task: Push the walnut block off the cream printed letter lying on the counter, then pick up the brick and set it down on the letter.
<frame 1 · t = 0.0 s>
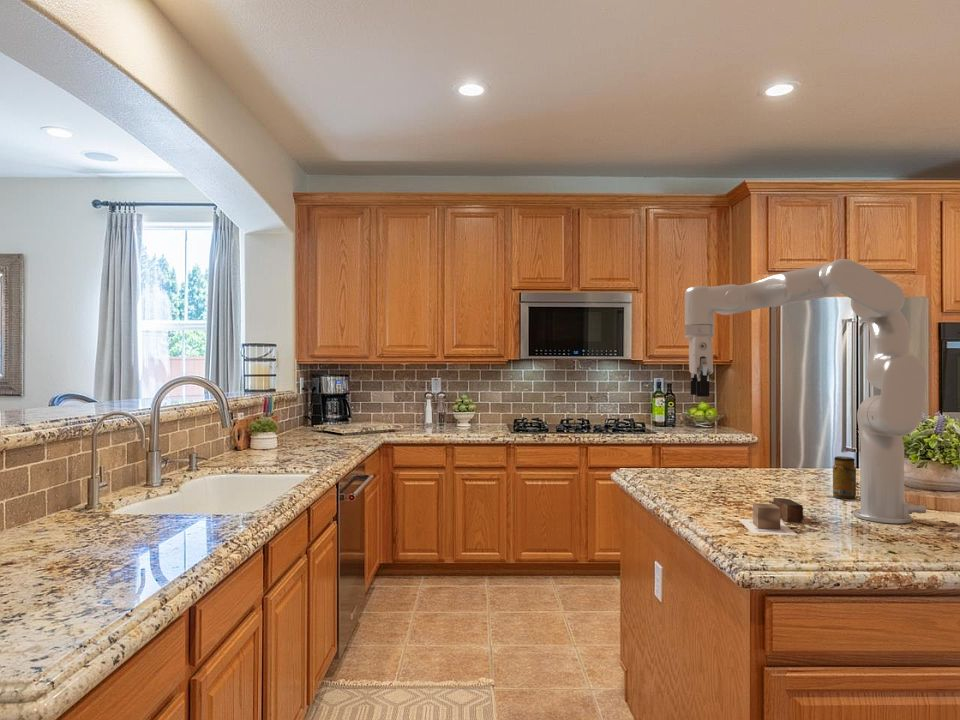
hand: (699, 395, 171), 31 cm above the countertop, tool pointing down, fingers open, 9 cm apart
brick: (786, 519, 163), on the countertop
walnut block: (766, 526, 154), resting on letter
letter: (766, 527, 154), on the countertop
condiment: (846, 498, 189), on the countertop
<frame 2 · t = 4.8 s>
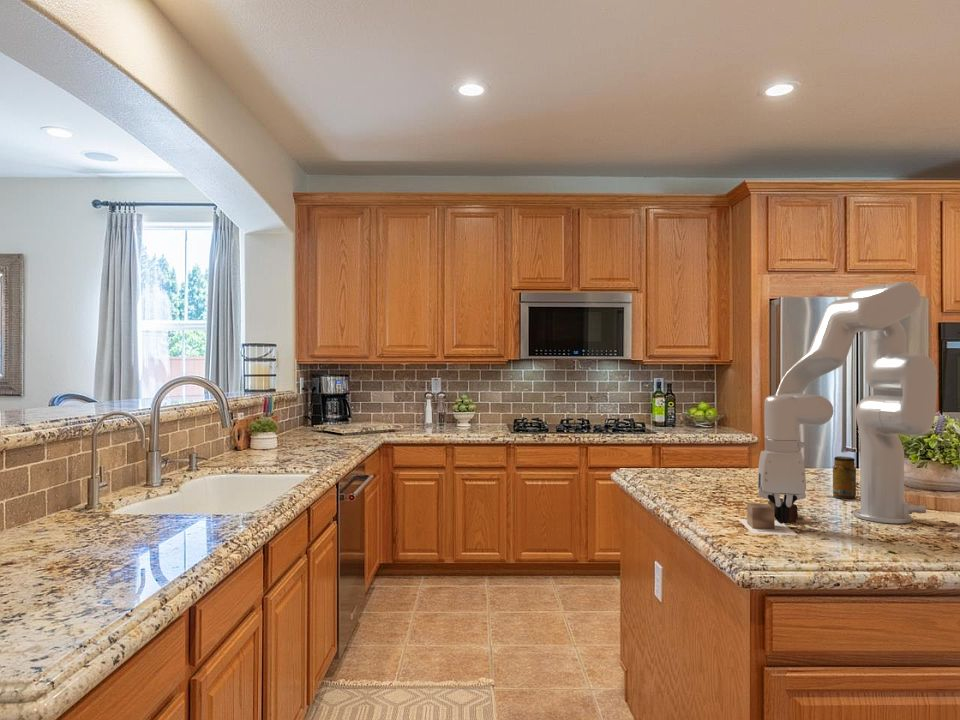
hand: (782, 522, 153), 1 cm above the countertop, tool pointing down, fingers closed
brick: (782, 519, 163), on the countertop
walnut block: (760, 526, 154), resting on letter, touching gripper
everything else where it was.
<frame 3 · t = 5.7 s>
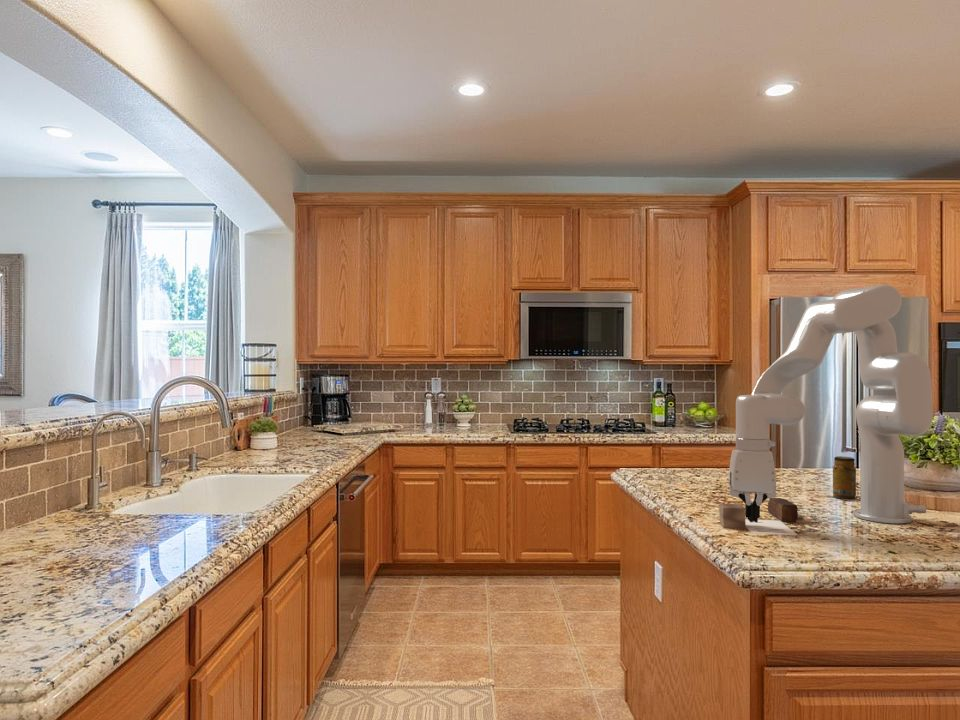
hand: (752, 520, 154), 1 cm above the countertop, tool pointing down, fingers closed
walnut block: (732, 526, 155), on the countertop, touching gripper
everything else where it was.
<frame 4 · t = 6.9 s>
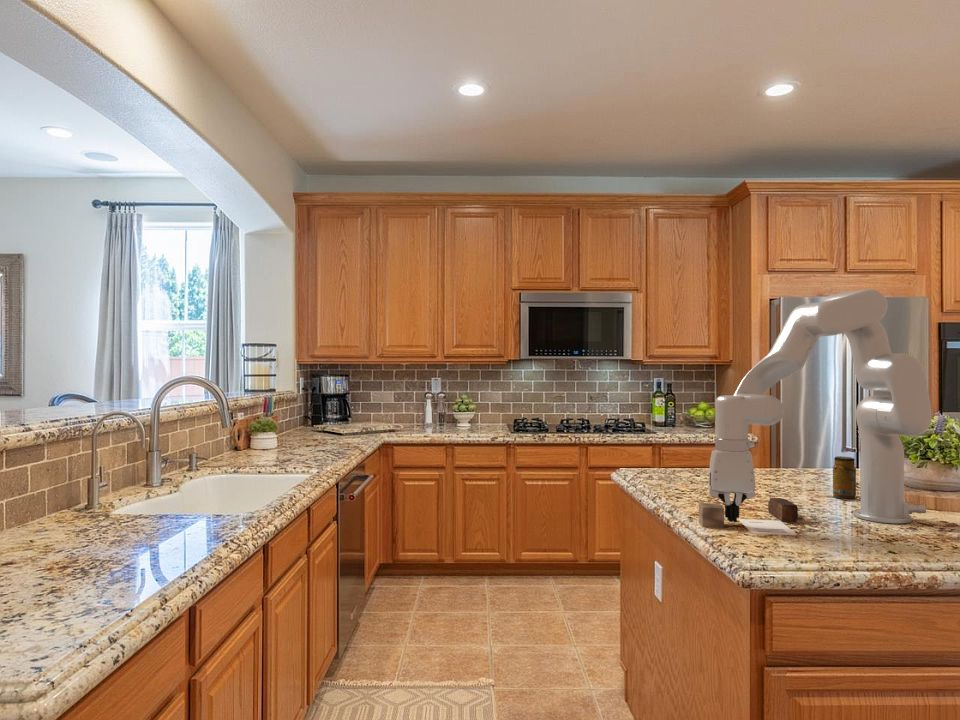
hand: (732, 520, 155), 1 cm above the countertop, tool pointing down, fingers closed
walnut block: (711, 525, 155), on the countertop, touching gripper
everything else where it was.
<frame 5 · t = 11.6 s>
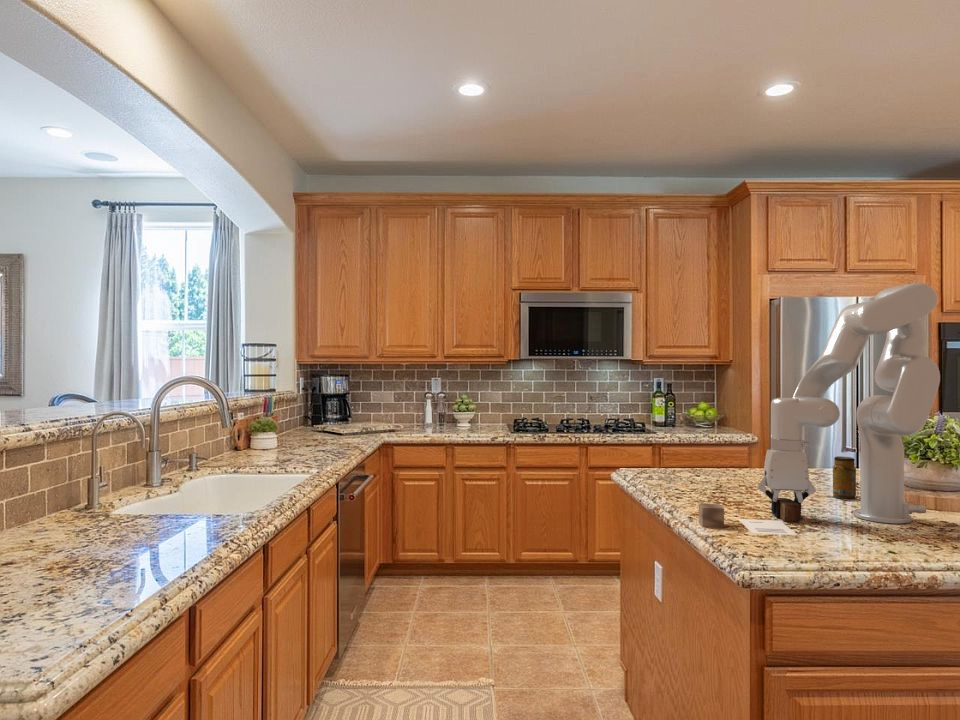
hand: (786, 516, 163), 1 cm above the countertop, tool pointing down, fingers closed on brick, 4 cm apart
brick: (786, 519, 163), on the countertop, touching gripper
walnut block: (711, 526, 155), on the countertop
everything else where it was.
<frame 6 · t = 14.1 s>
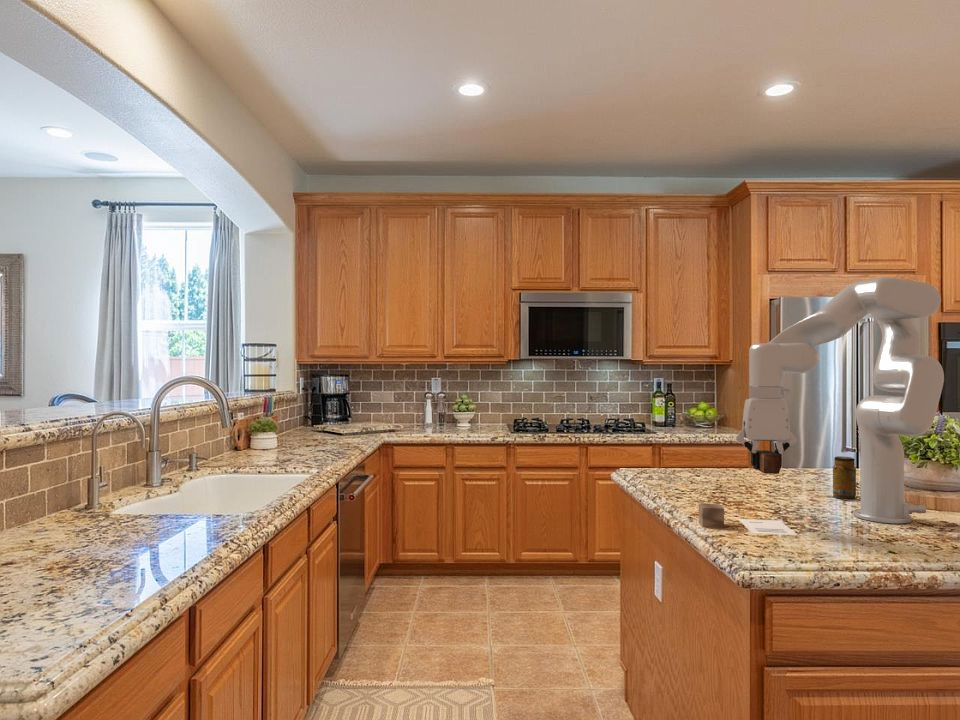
hand: (766, 468, 154), 14 cm above the countertop, tool pointing down, fingers closed on brick, 4 cm apart
brick: (766, 471, 154), point 14 cm above the countertop, touching gripper
everything else where it was.
when the fingers open (2 cm above the countertop, at t = 16.5 s): brick drops 1 cm, resting on letter.
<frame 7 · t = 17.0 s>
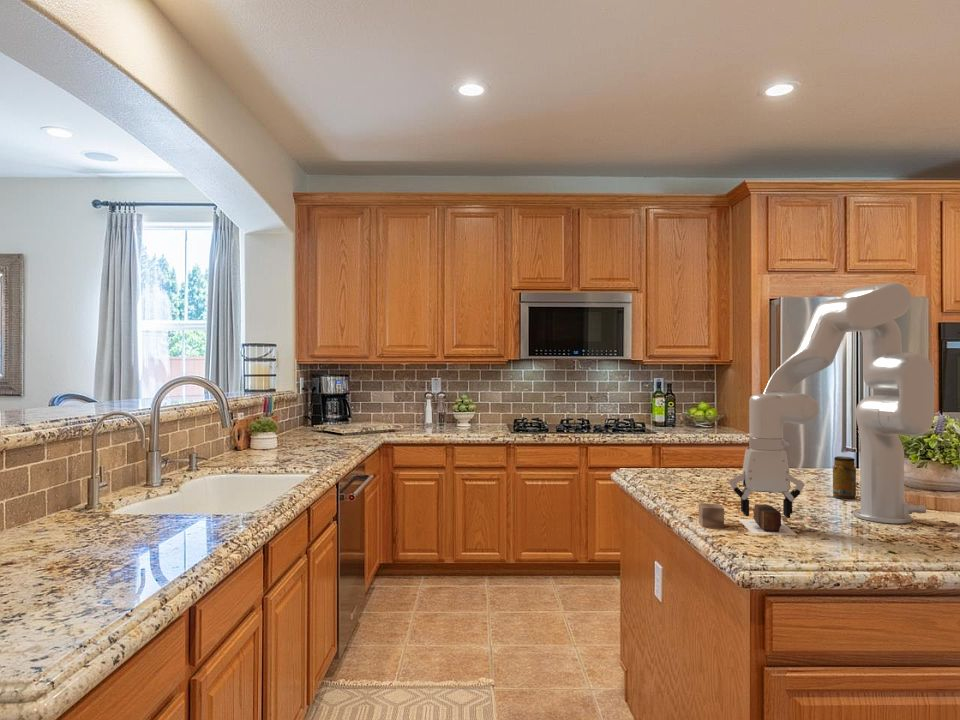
hand: (766, 515, 154), 3 cm above the countertop, tool pointing down, fingers open, 9 cm apart
brick: (766, 527, 154), resting on letter
everything else where it was.
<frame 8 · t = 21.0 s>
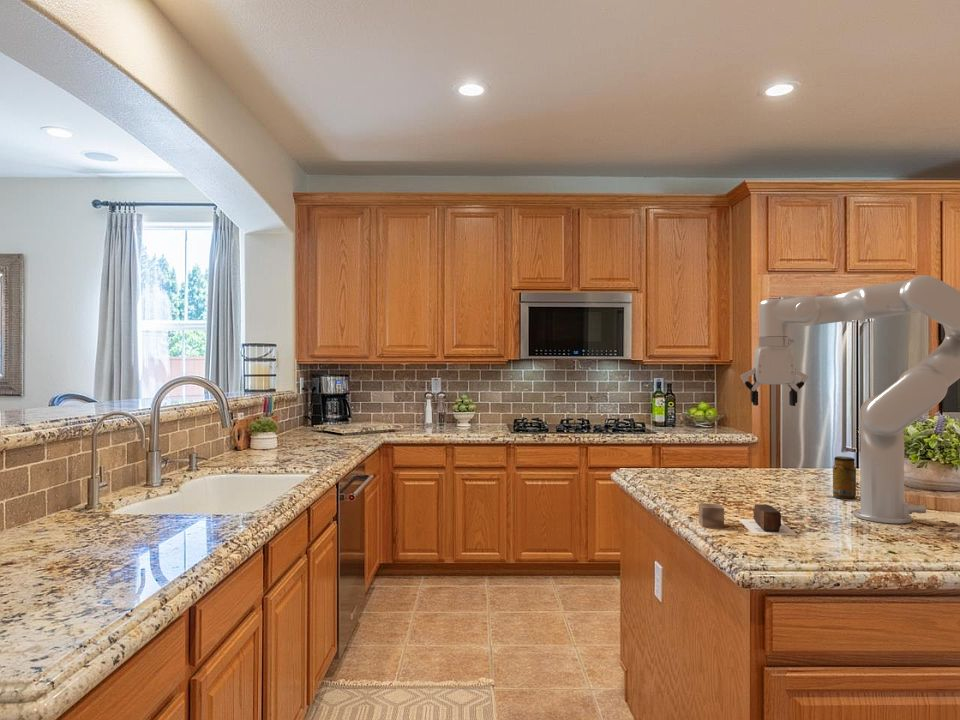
hand: (773, 405, 175), 28 cm above the countertop, tool pointing down, fingers open, 9 cm apart
nothing on the countertop moved.
at the end: brick inside the target area on the letter (0.1 cm from its centre), point 0.0 cm above the letter's base; walnut block moved 12.9 cm from its start; brick tilted 0° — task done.
